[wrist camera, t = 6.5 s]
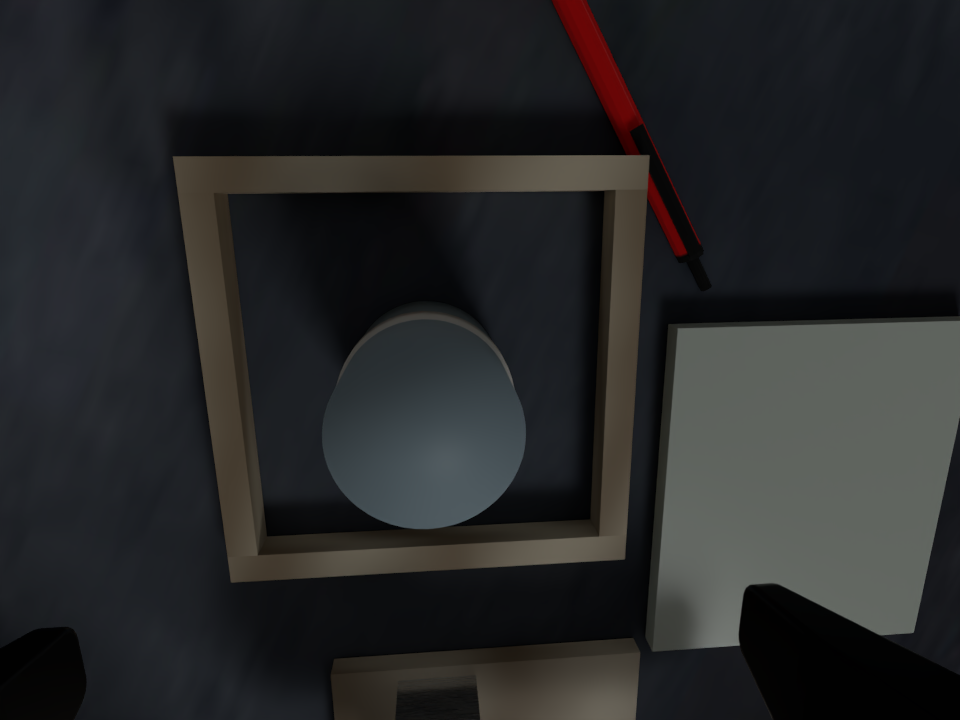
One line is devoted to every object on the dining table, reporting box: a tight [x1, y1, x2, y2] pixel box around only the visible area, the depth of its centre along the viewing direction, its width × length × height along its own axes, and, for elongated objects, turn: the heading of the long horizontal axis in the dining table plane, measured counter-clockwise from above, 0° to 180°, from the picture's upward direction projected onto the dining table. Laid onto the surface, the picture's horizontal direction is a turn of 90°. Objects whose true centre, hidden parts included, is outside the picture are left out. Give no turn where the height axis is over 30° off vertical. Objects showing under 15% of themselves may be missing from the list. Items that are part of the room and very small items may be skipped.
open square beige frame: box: [173, 155, 650, 583], centre depth 19 cm, size 14×14×1 cm
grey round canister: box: [322, 301, 526, 529], centre depth 17 cm, size 5×5×6 cm
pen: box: [552, 0, 711, 291], centre depth 17 cm, size 1×19×1 cm, turn 31°
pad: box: [645, 316, 960, 652], centre depth 22 cm, size 11×13×1 cm
